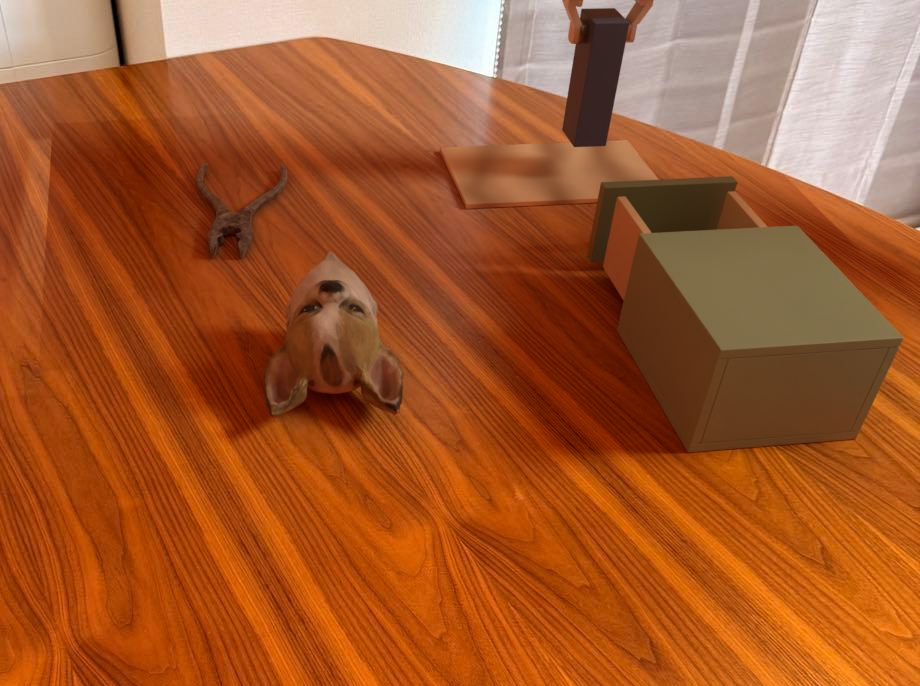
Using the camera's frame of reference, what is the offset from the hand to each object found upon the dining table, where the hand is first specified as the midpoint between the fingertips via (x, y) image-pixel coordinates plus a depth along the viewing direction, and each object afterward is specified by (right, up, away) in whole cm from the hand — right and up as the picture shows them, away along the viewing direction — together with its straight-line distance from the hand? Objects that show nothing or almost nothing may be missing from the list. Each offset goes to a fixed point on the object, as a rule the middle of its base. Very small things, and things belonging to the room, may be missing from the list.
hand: (600, 41), depth 97 cm
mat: (-3, -10, +9) cm, 14 cm away
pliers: (-35, -16, +2) cm, 39 cm away
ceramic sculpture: (-26, -37, -19) cm, 49 cm away
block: (0, -7, +7) cm, 10 cm away
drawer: (+4, -26, -8) cm, 28 cm away
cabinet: (+7, -37, -18) cm, 41 cm away
